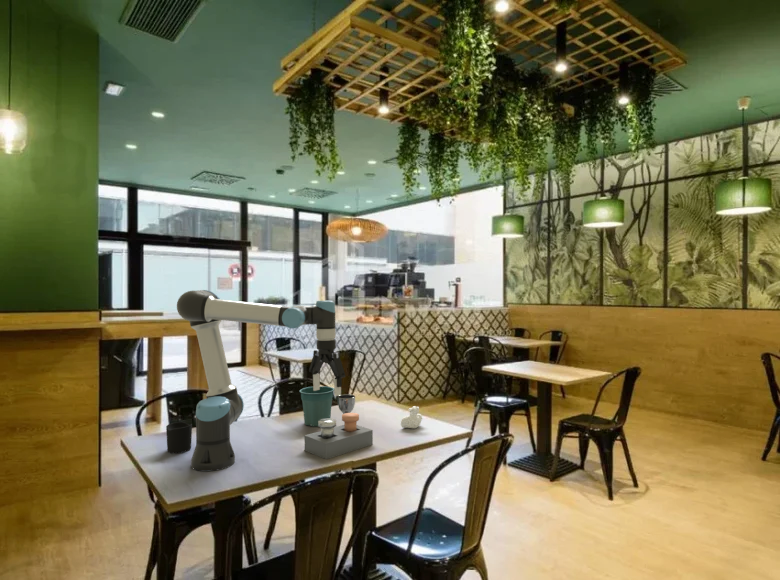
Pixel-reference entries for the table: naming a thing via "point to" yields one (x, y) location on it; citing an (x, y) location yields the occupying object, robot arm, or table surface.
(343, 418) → the peach rounded piece
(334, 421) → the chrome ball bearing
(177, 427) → the pen holder
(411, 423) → the bust
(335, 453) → the press console
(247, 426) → the table surface
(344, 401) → the wine glass
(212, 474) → the table surface
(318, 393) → the flower pot
